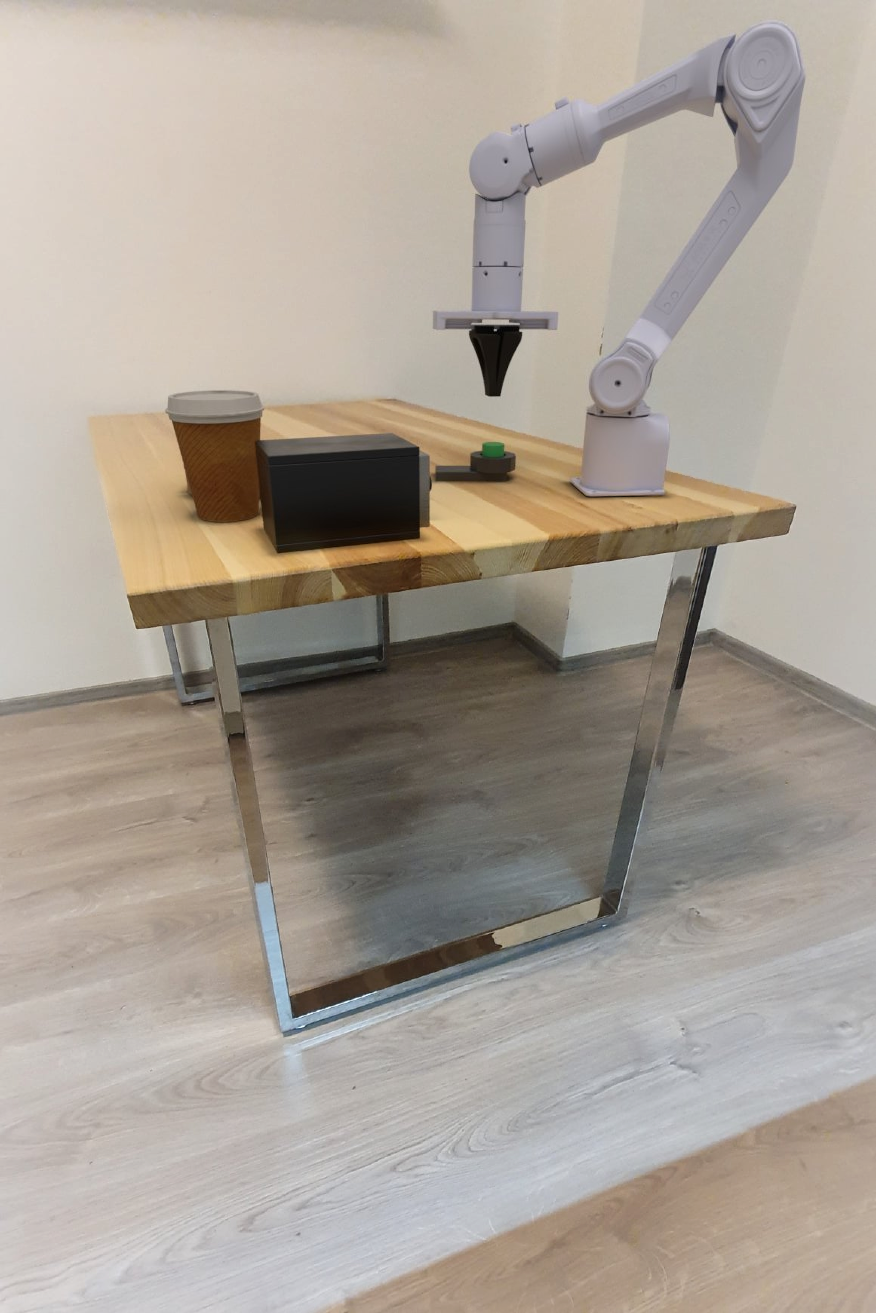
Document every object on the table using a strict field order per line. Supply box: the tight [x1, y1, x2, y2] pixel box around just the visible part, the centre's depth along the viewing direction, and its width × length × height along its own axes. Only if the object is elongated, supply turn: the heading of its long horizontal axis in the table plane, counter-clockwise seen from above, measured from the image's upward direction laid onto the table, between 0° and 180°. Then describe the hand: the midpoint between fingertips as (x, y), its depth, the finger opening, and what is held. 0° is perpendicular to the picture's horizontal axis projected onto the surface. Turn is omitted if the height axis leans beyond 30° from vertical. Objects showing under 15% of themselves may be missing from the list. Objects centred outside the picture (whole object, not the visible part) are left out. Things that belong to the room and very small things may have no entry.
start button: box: [481, 441, 505, 457], centre depth 92 cm, size 3×3×2 cm
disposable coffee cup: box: [164, 389, 265, 523], centre depth 74 cm, size 10×10×12 cm
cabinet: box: [255, 432, 421, 554], centre depth 69 cm, size 14×8×9 cm, turn 110°
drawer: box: [419, 449, 433, 529], centre depth 70 cm, size 14×7×7 cm, turn 110°
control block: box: [434, 450, 517, 482], centre depth 93 cm, size 10×6×3 cm, turn 90°
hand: (492, 395), depth 87 cm, fingers closed
